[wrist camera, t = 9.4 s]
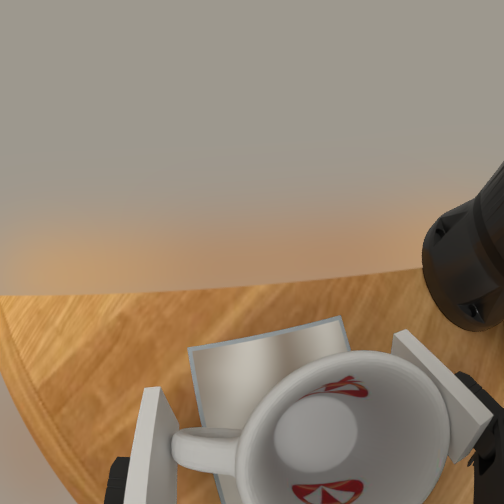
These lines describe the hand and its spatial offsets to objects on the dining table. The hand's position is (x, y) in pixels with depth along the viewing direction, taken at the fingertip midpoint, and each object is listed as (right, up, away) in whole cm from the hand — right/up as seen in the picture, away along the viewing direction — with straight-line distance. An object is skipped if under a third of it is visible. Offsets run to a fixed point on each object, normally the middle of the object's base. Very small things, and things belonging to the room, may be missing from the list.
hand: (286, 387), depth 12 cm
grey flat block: (+1, -8, +10) cm, 13 cm away
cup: (+1, -5, +3) cm, 5 cm away
